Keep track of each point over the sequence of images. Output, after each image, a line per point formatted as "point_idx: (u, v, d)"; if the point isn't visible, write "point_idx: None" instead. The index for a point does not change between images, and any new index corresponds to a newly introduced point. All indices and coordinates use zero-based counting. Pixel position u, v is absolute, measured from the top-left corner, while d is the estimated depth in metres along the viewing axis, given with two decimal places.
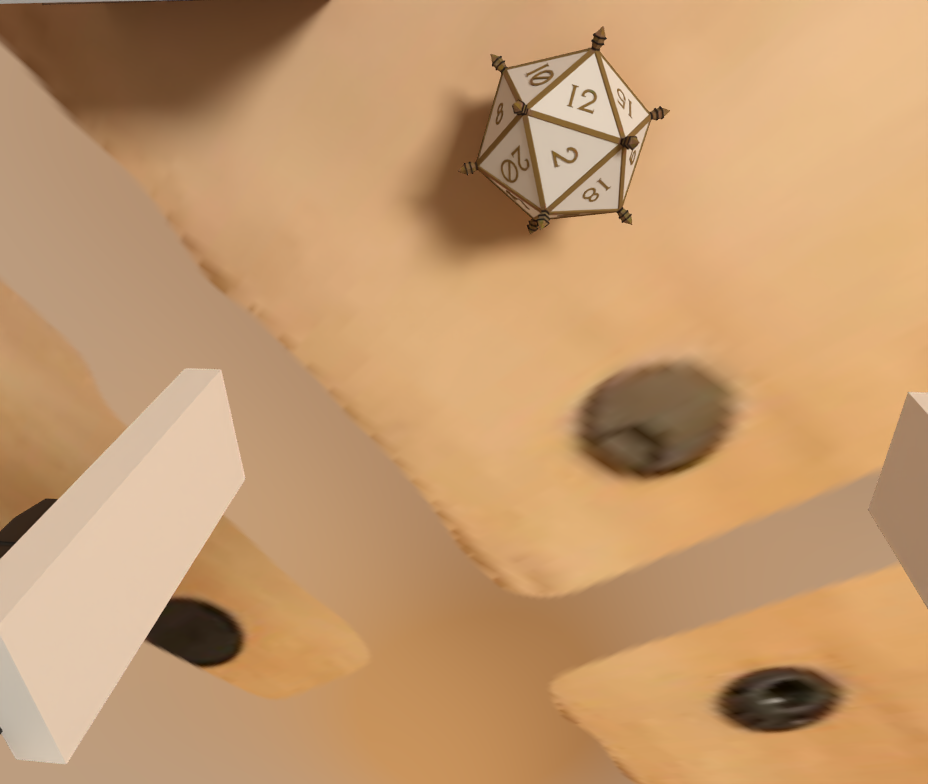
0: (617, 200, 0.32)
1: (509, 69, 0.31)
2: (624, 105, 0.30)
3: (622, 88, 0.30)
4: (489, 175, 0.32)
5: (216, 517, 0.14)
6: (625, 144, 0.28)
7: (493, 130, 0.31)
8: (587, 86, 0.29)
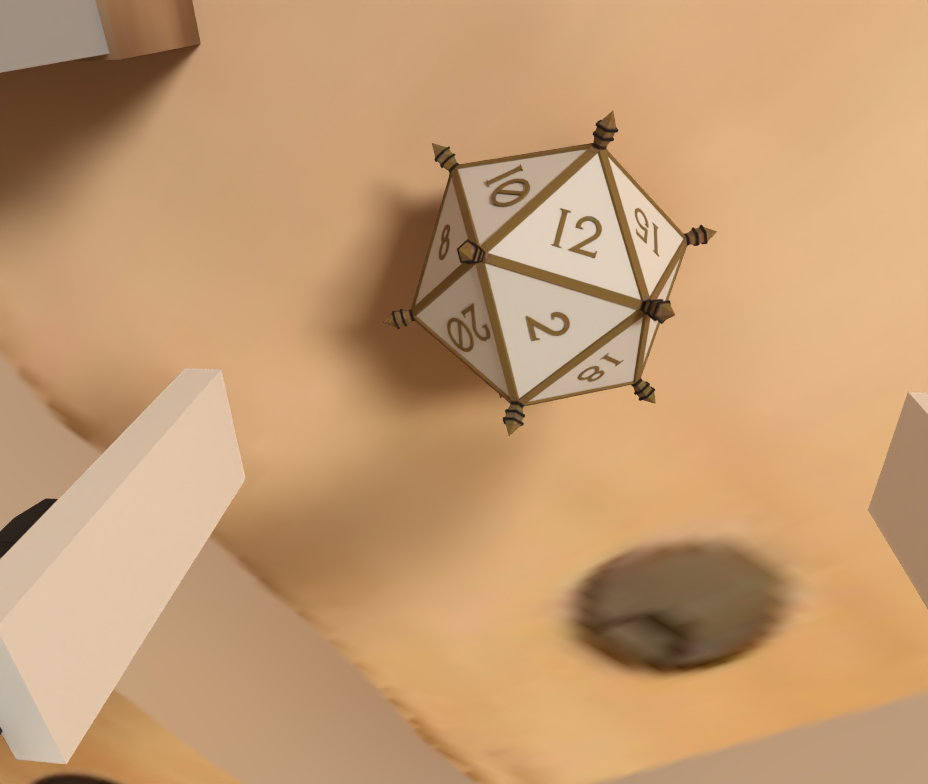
0: (633, 373, 0.20)
1: (461, 168, 0.19)
2: (646, 237, 0.18)
3: (643, 206, 0.18)
4: (431, 332, 0.20)
5: (216, 517, 0.14)
6: (650, 313, 0.17)
7: (436, 266, 0.19)
8: (585, 211, 0.17)
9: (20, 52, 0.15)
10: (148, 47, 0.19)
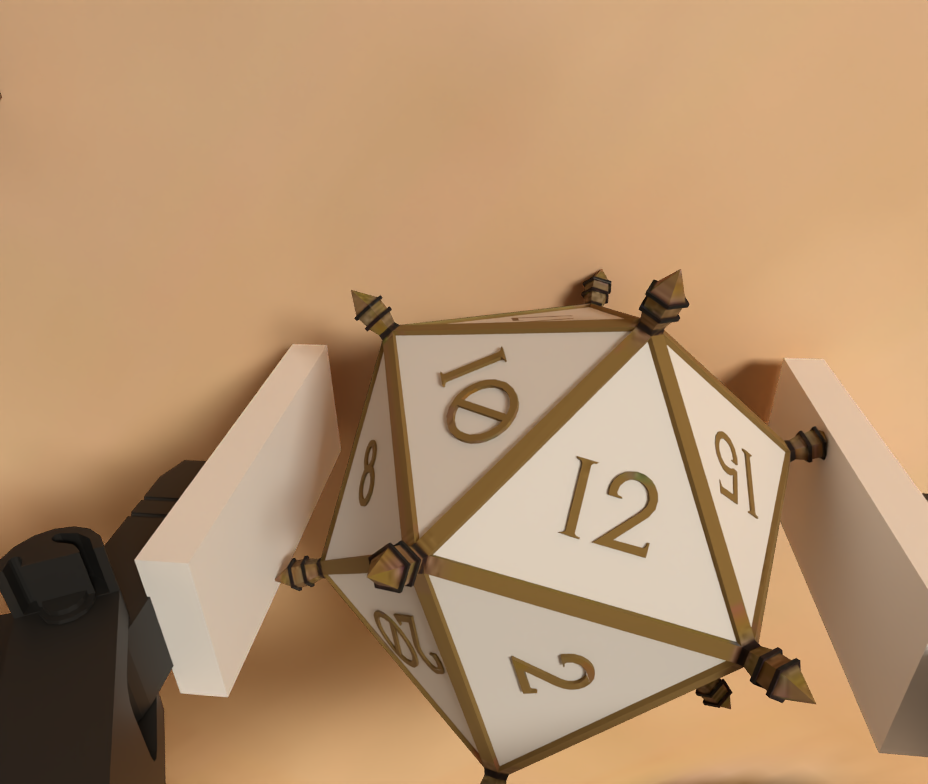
0: None
1: (401, 336, 0.11)
2: (735, 487, 0.10)
3: (726, 421, 0.10)
4: (351, 608, 0.12)
5: (322, 484, 0.15)
6: (758, 683, 0.08)
7: (356, 508, 0.11)
8: (626, 459, 0.09)
9: None
10: None
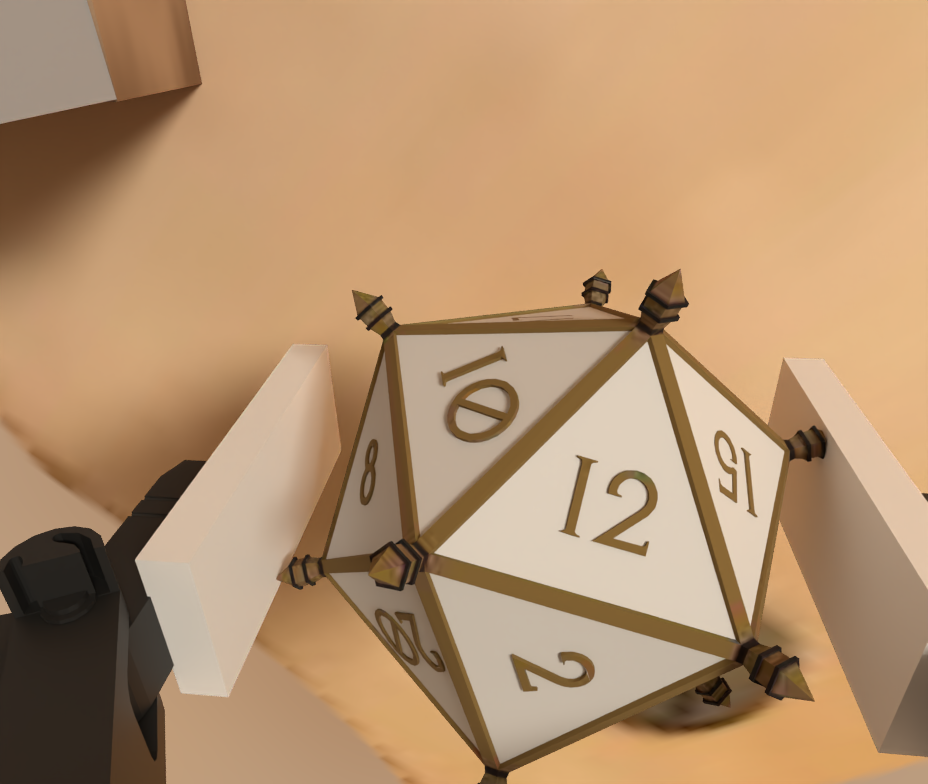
0: None
1: (402, 336, 0.11)
2: (735, 486, 0.10)
3: (725, 421, 0.10)
4: (352, 607, 0.12)
5: (322, 484, 0.15)
6: (757, 681, 0.08)
7: (357, 507, 0.11)
8: (626, 458, 0.09)
9: (22, 101, 0.14)
10: (148, 88, 0.18)
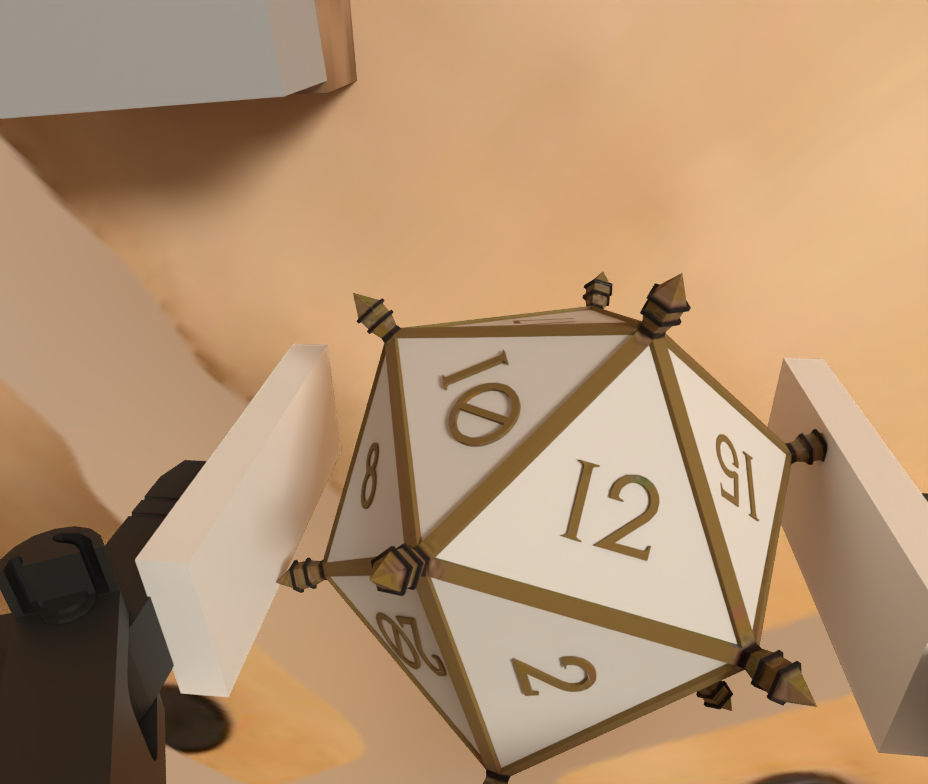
0: None
1: (403, 339, 0.11)
2: (736, 490, 0.10)
3: (727, 424, 0.10)
4: (353, 610, 0.12)
5: (322, 484, 0.15)
6: (759, 685, 0.08)
7: (358, 510, 0.11)
8: (628, 462, 0.09)
9: (298, 80, 0.24)
10: (337, 84, 0.28)
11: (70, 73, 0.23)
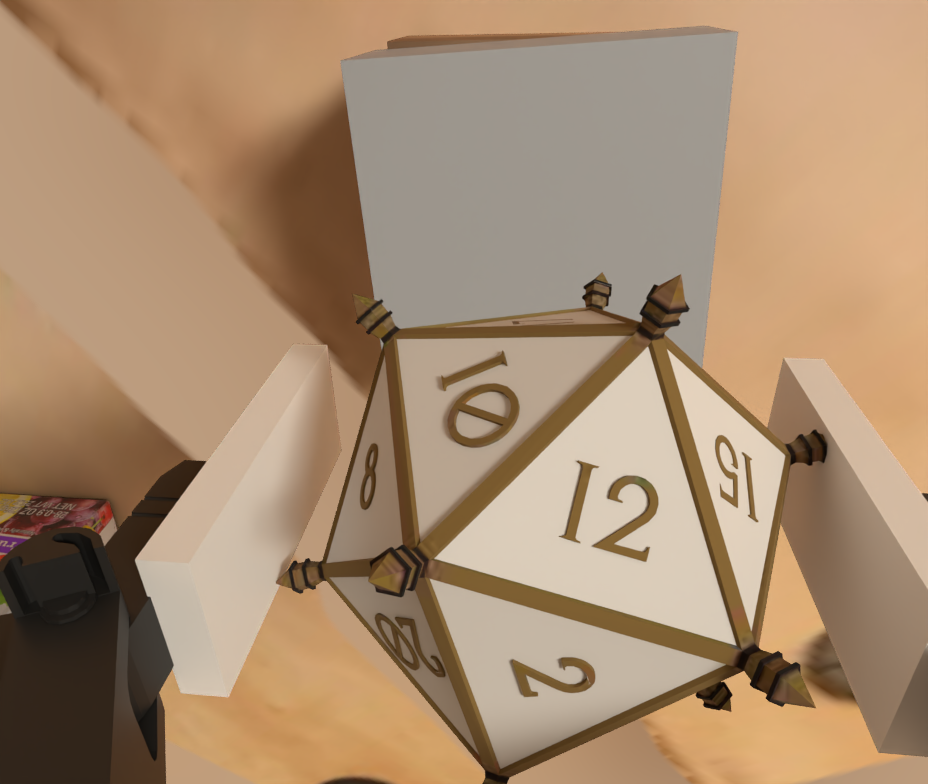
0: None
1: (402, 340, 0.11)
2: (736, 491, 0.10)
3: (727, 425, 0.10)
4: (353, 611, 0.12)
5: (322, 484, 0.15)
6: (759, 687, 0.08)
7: (357, 511, 0.11)
8: (627, 463, 0.09)
9: None
10: None
11: None
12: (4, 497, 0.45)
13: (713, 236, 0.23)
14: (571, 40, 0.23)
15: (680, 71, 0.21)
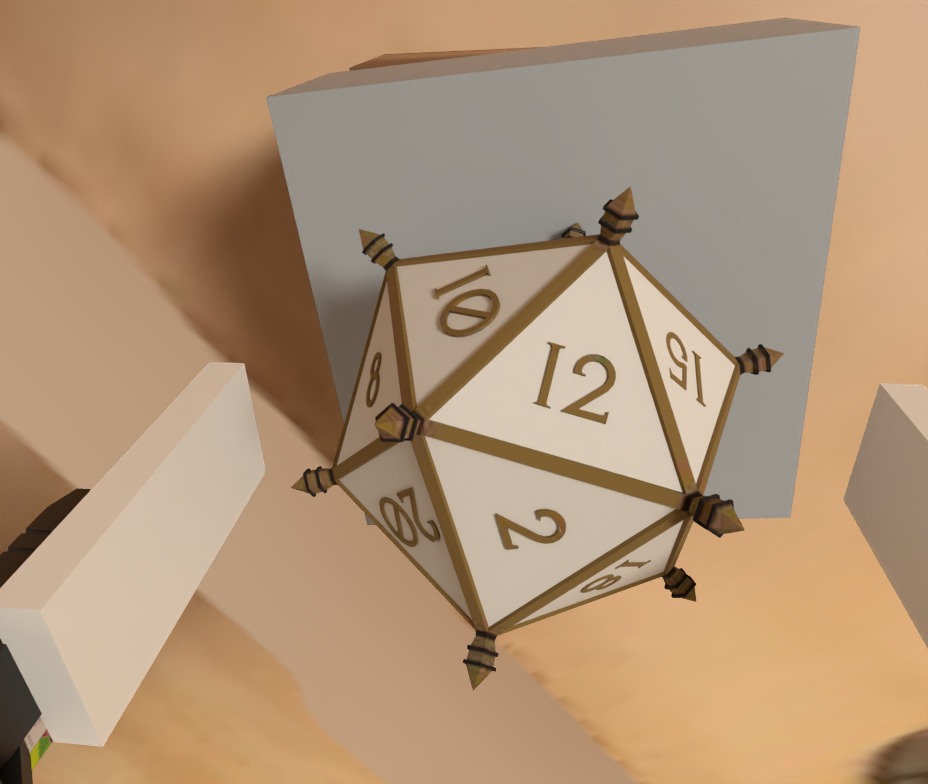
0: (663, 566, 0.13)
1: (401, 266, 0.13)
2: (685, 378, 0.11)
3: (677, 326, 0.12)
4: (360, 507, 0.13)
5: (239, 509, 0.14)
6: (699, 521, 0.10)
7: (363, 413, 0.13)
8: (589, 345, 0.11)
9: None
10: None
11: None
12: None
13: (814, 320, 0.16)
14: (600, 50, 0.16)
15: (769, 89, 0.14)
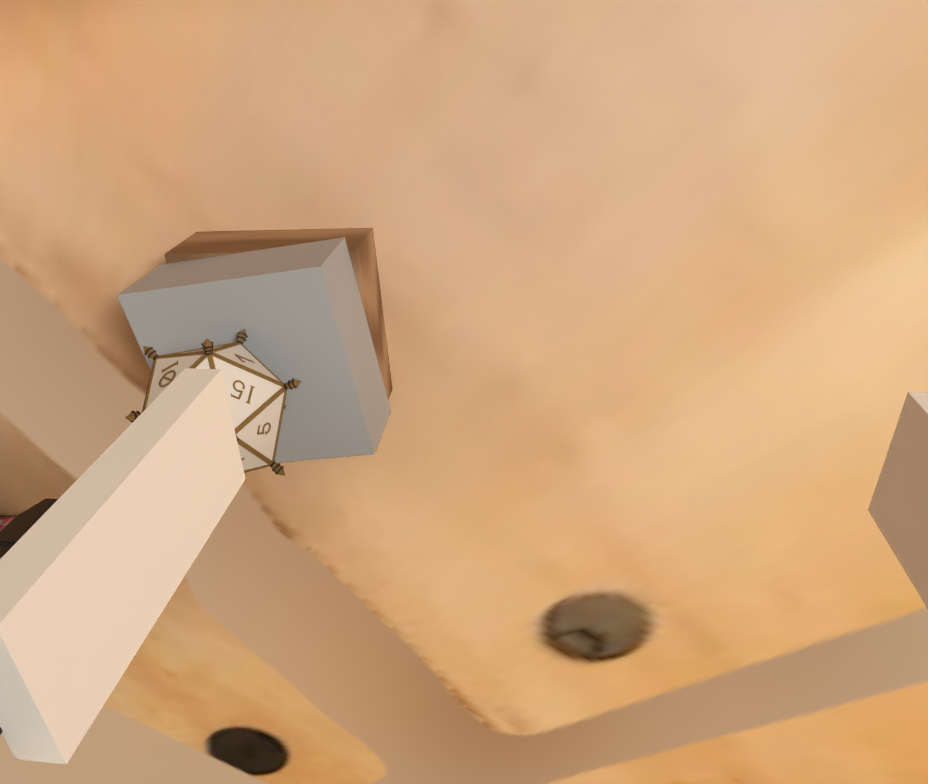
0: (262, 461, 0.37)
1: (157, 359, 0.36)
2: (241, 395, 0.35)
3: (242, 377, 0.35)
4: None
5: (216, 517, 0.14)
6: None
7: None
8: None
9: (379, 434, 0.44)
10: None
11: None
12: None
13: (348, 368, 0.39)
14: (249, 266, 0.39)
15: (297, 287, 0.37)
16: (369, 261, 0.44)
